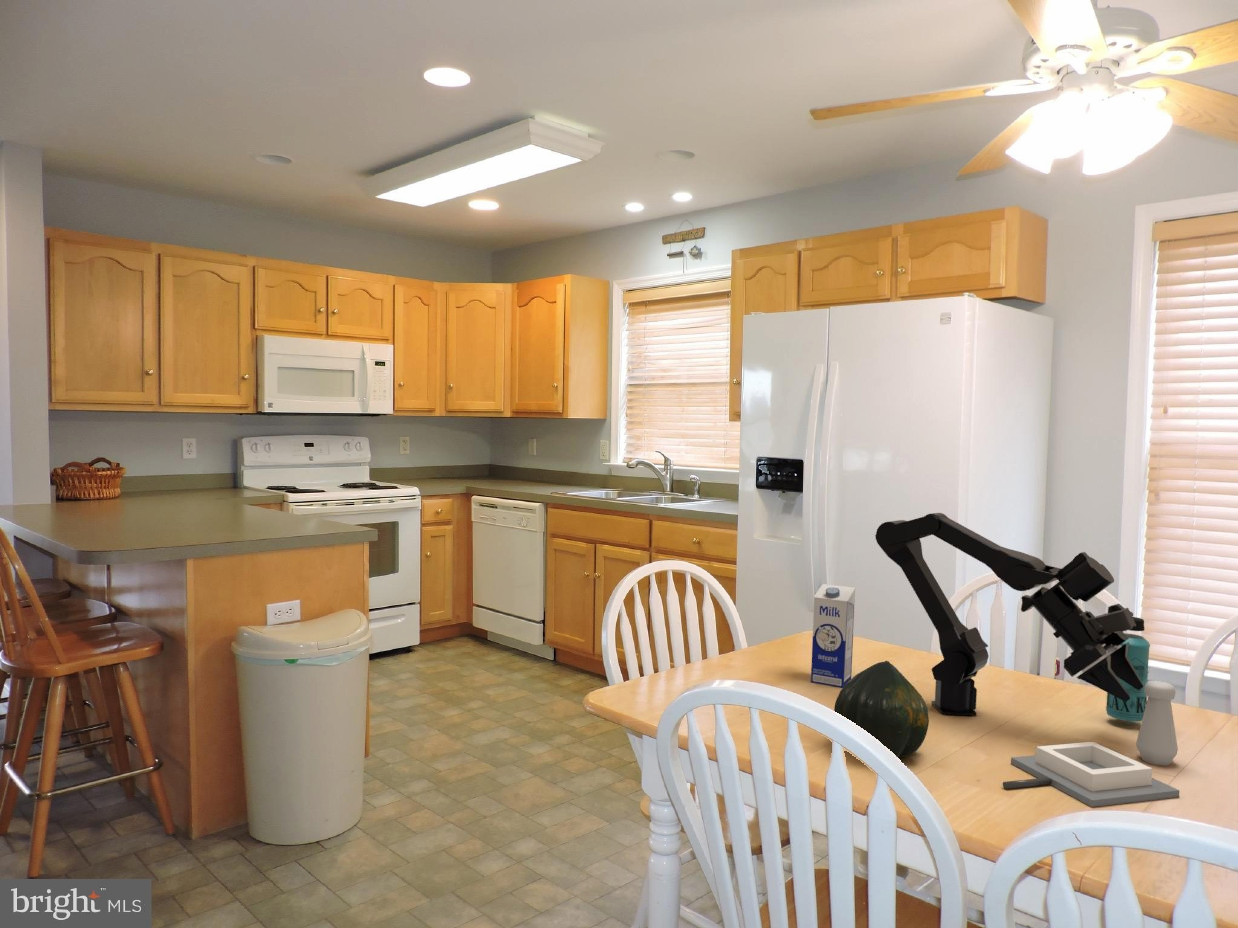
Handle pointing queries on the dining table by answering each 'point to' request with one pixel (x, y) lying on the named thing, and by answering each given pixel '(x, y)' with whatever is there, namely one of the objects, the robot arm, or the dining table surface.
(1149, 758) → the salt shaker
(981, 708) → the dining table surface
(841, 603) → the milk carton
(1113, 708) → the beverage bottle
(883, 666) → the squash
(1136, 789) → the dock
